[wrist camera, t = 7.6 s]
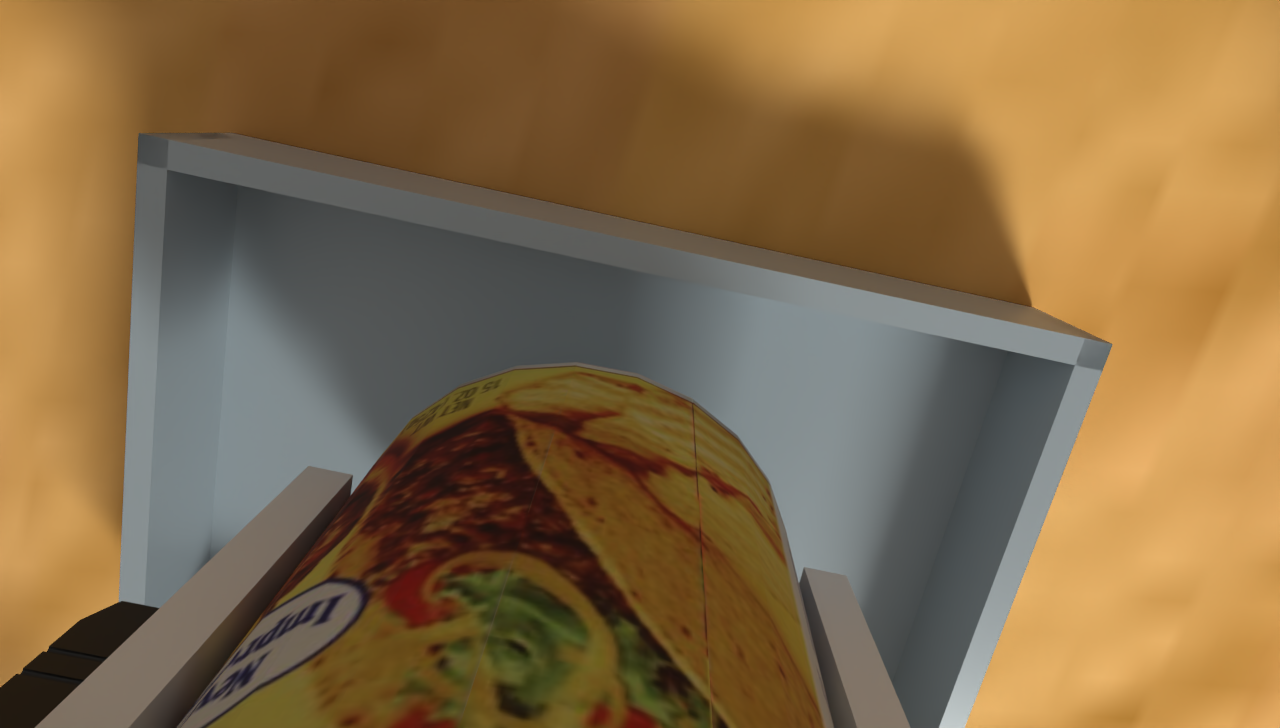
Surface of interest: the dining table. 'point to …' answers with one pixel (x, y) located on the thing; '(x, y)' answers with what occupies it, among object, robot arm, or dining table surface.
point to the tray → (593, 334)
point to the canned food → (540, 576)
